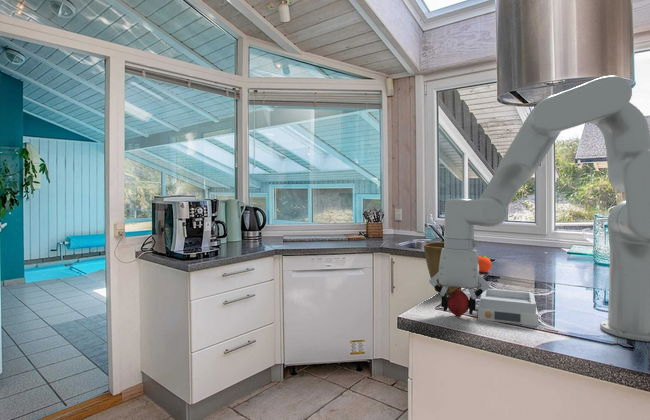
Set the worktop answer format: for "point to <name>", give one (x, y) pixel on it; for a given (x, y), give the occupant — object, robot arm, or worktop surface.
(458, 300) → the onion
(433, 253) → the plant pot
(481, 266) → the clementine
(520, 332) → the worktop surface
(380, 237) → the worktop surface
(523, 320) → the scale
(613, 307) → the robot arm
